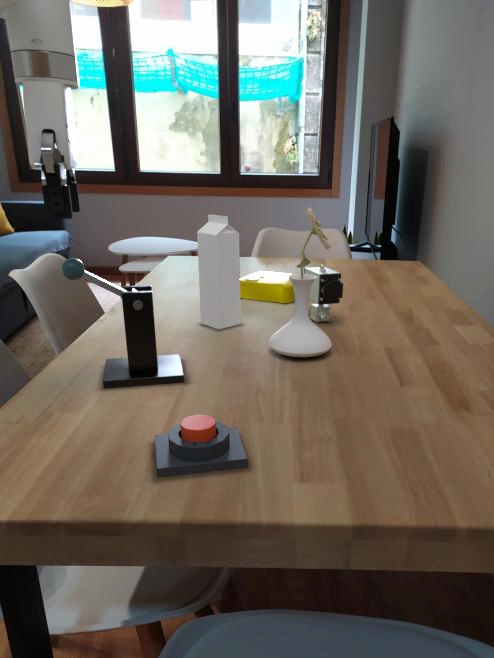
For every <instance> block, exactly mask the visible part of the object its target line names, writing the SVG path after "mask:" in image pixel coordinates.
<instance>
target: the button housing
mask: <svg viewBox="0 0 494 658" xmlns="http://www.w3.org/2000/svg"><path fill="white" fill-rule="evenodd" d="M215 421H216V437H215V438H214V439H211V440H209V441H206V442H196V443H195V442H189V441H185V440H183V439H182V438H181V422H179V423H177V424H175V425H173V427H171V428H170V429H169V431H167V433H162V434H160V433H159V434H154V449H155V450H154V451H155V462H156V463H155V464H156V478H158V479H159V478H168V477H175V476H184V475H195V474H203V473H213V472H219V471H220V472H221V471H229V470H237V469H245V468H246V469H247V468H249V463H248V462H249V459H248V456H247V453H246V449H245V448H244V445H243V441H242V439H241V437H240V434H239V431H238V429H237V426H234V427H232V426H231V427H228V426H227V425H225V424H223V423H222V422H220V421H218V420H215Z"/></svg>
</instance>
